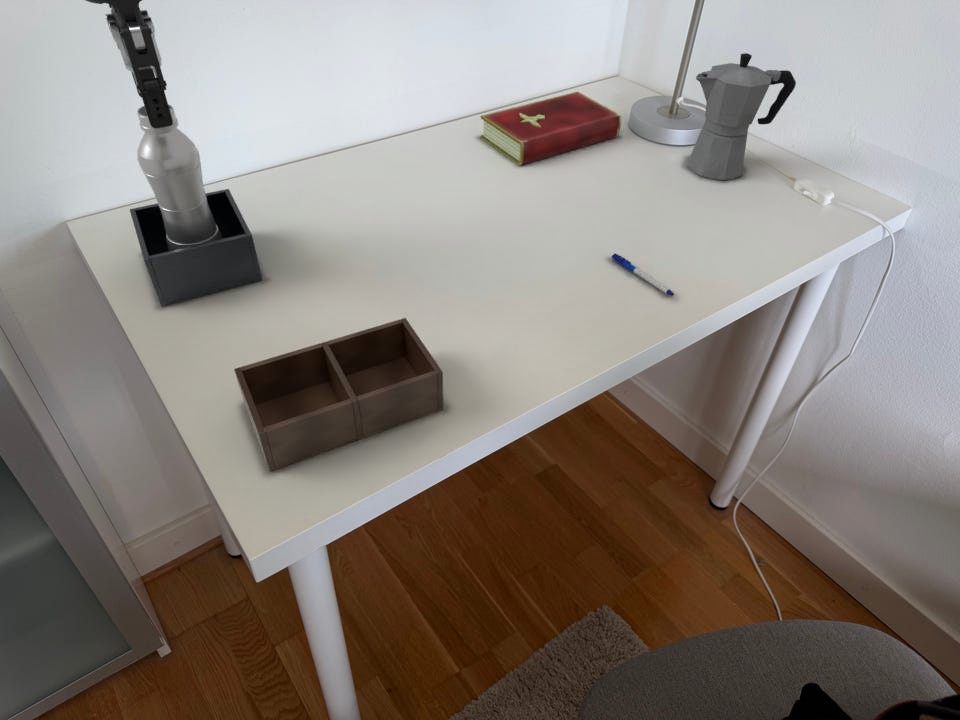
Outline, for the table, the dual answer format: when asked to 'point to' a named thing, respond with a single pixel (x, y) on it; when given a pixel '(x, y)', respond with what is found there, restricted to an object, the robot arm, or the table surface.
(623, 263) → the ballpoint pen
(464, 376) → the table surface
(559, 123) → the hardcover book
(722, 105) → the coffeepot
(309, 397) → the divided box
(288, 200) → the table surface
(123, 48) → the robot arm
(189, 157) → the silver metal bottle
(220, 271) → the dark grey open box
